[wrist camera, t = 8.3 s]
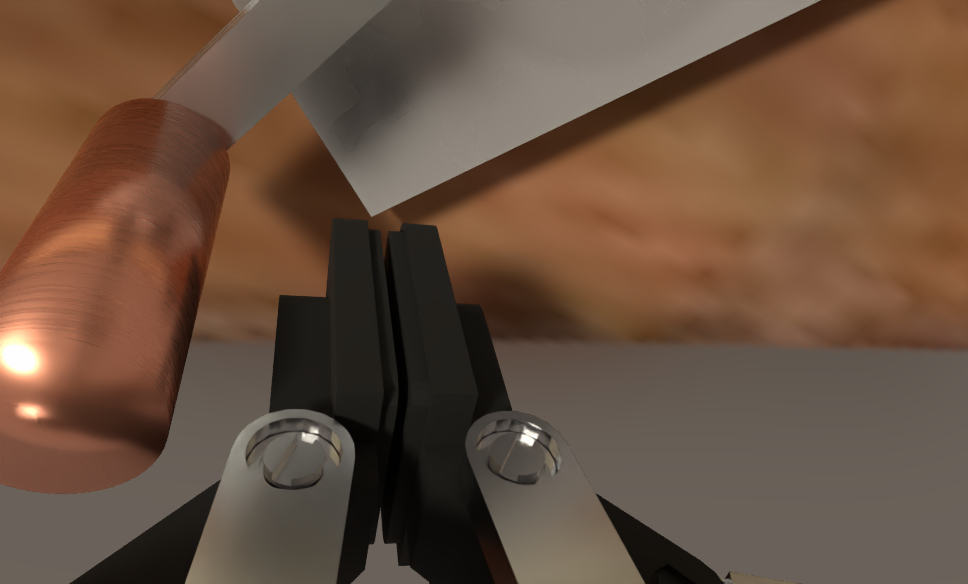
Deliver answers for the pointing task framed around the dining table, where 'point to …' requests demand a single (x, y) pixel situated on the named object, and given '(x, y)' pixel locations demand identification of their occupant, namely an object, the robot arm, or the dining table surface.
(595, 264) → the dining table surface
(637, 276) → the dining table surface
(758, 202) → the dining table surface
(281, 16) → the crank
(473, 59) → the stand
